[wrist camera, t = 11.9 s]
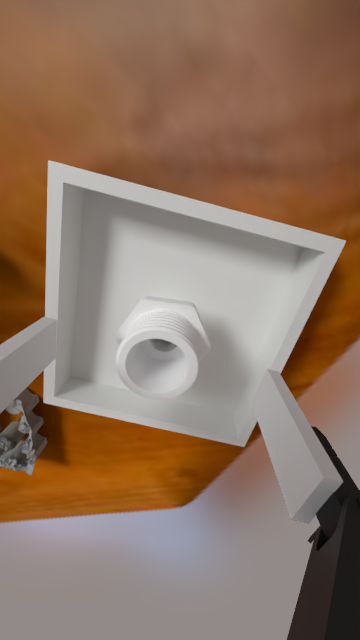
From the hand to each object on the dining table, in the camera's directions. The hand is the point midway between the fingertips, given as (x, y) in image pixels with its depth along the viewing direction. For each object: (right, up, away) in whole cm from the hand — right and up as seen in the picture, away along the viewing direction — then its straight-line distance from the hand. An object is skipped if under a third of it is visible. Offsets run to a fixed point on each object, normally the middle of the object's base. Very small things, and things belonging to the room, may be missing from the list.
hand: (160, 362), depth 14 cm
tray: (0, +3, +8) cm, 9 cm away
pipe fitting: (0, +3, +7) cm, 8 cm away
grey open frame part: (-19, -9, +14) cm, 25 cm away
